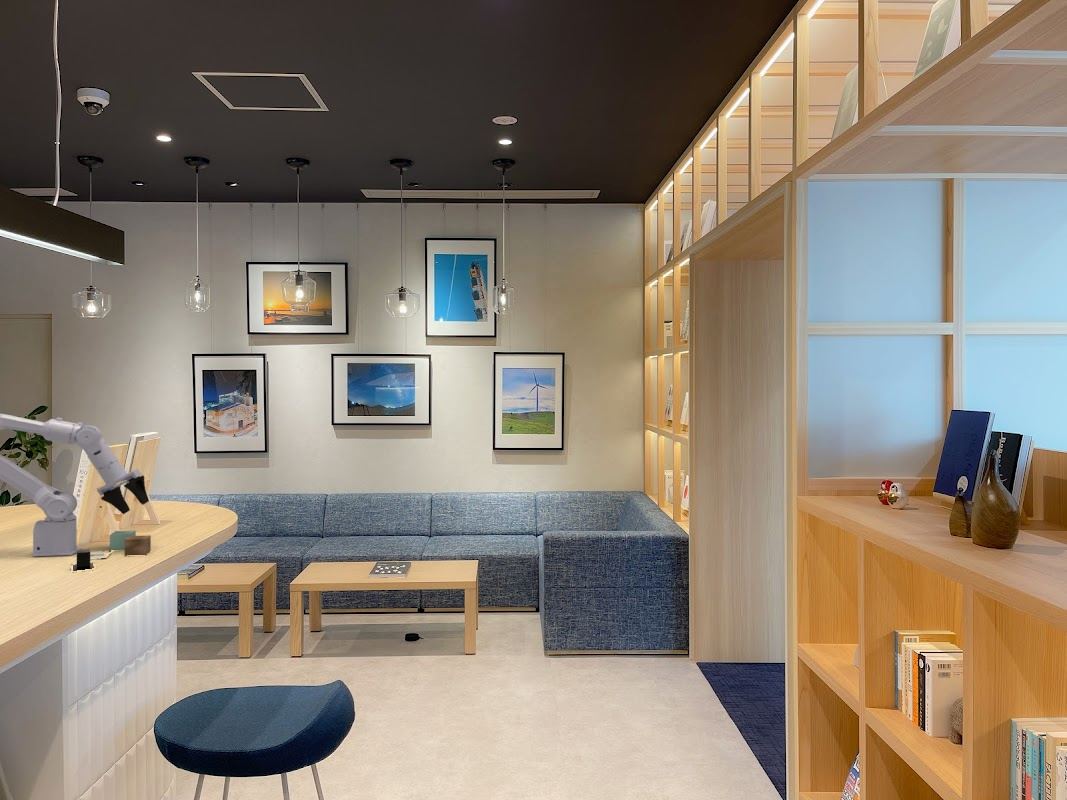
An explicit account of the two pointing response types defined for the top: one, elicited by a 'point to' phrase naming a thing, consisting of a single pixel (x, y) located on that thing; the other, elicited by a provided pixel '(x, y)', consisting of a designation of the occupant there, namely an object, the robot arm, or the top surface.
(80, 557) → the black block with base
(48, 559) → the top surface
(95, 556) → the page
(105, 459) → the robot arm
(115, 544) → the teal block
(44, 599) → the top surface
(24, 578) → the top surface
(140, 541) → the walnut block
